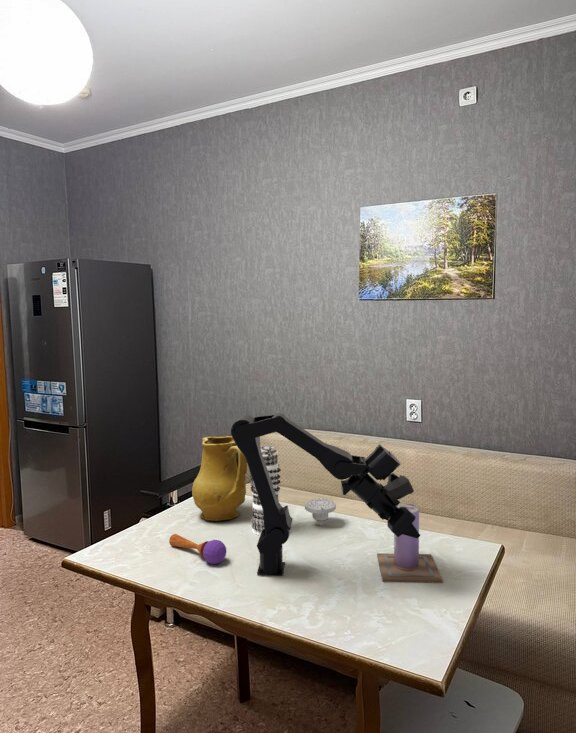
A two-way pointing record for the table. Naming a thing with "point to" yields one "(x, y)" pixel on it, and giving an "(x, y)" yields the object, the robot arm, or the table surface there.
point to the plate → (422, 573)
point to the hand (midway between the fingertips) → (414, 531)
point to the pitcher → (220, 479)
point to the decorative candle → (272, 467)
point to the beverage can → (407, 544)
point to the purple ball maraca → (202, 548)
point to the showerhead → (320, 509)
